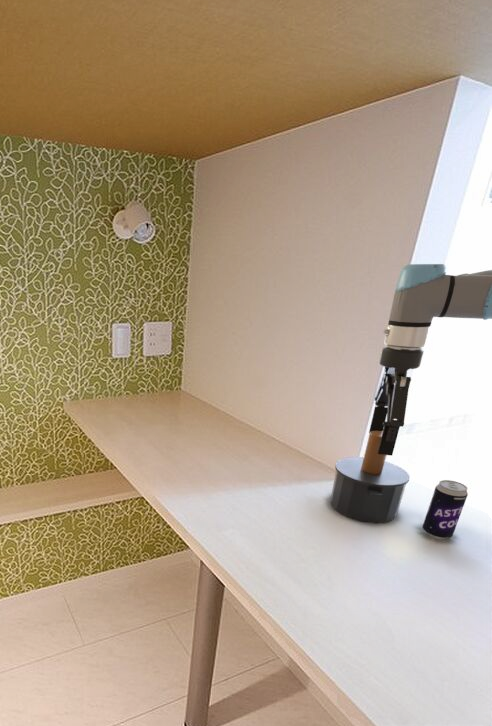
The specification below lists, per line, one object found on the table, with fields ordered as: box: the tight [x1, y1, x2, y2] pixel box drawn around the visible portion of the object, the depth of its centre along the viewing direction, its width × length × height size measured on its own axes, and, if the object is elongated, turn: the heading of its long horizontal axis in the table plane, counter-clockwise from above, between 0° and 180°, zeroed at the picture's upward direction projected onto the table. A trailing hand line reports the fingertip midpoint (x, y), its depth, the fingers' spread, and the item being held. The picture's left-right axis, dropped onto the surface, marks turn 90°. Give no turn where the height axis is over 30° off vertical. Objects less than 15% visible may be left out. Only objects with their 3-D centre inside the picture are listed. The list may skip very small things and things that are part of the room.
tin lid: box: [334, 431, 410, 488], centre depth 100 cm, size 16×16×10 cm
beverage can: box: [422, 479, 469, 540], centre depth 93 cm, size 6×6×12 cm
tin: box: [329, 470, 407, 525], centre depth 104 cm, size 15×20×10 cm
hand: (379, 443), depth 98 cm, fingers open, 13 cm apart
